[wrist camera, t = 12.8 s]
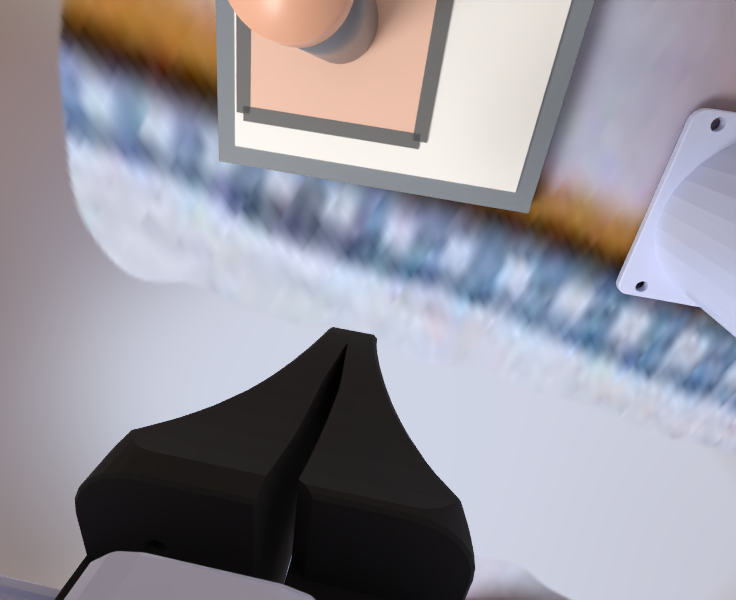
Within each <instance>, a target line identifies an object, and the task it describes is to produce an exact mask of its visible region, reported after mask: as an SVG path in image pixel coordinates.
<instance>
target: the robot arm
mask: <svg viewBox="0 0 736 600" xmlns="http://www.w3.org/2000/svg"><path fill="white" fill-rule="evenodd" d="M716 118H719V119H720V125H719V126H718V127H717V128H716V129H715V130H713V131H712V130H711V128H710V127H711V123H712V122H713V120H714V119H716ZM641 281H644V285H643V286H642V287H640V288H635V287H636V285H637V283H639V282H641ZM616 285H617V288H618V289H619V290H620V291H621V292H622V293H625V294H630V295H635V296H641V297H646V298H652V299H658V300H663V301H669V302H675V303H680V304H686V305H691V306H697V307H701V308H702V309H703V310H704V311H705V312H707V313H708V314H709V315H710V316H711V317H712V318H714V319H715V320H716V321H717V322H718V323H720V324H721V325H722V326H723V327H724V328H726V329H727V330H728V331H729V332H730V333H731V334H733V335H734V336H735V337H736V112H731V111H725V110H718V109H711V108H700V109H698V110H696V111H694V112H693V113H692V114H691V115H690V116H689V118H688V119H687V121H686V123H685V126H684V128H683V130H682V132H681V135H680V137H679V139H678V142H677V144H676V146H675V148H674V151H673V153H672V155H671V157H670V160H669V162H668V164H667V167H666V169H665V171H664V173H663V176H662V178H661V180H660V182H659V185H658V187H657V189H656V192H655V194H654V196H653V198H652V201H651V203H650V205H649V207H648V210H647V212H646V214H645V217H644V219H643V221H642V223H641V226H640V228H639V230H638V232H637V235H636V237H635V239H634V242H633V244H632V246H631V248H630V251H629V253H628V255H627V258H626V260H625V262H624V264H623V267H622V269H621V271H620V273H619V276H618V278H617V281H616ZM376 344H377V338H376V337H375V336H374V335H372V334H366V333H361V332H356V331H350V330H345V329H340V328H335V327H332V328H330V329H329V330H328V331H327V332H326V333H325V334H324V335H323V336H322V337H320V338H319V339H318V340H317V341H316V342H315V343H314V344H313V345H312V346H311V347H309V348H308V349H307V350H306V351H304V352H303V353H302V354H301V355H300V356H298V357H297V358H296V359H295V360H294V361H292V362H291V363H289V364H288V365H286V366H285V367H284V368H282V369H281V370H280V371H278V372H277V373H275V374H274V375H272V376H271V377H269V378H268V379H266V380H264V381H263V382H261V383H259V384H258V385H256V386H254V387H252V388H251V389H249V390H247V391H245V392H243V393H241V394H238V395H236V396H234V397H232V398H230V399H227V400H225V401H223V402H221V403H219V404H216V405H214V406H211V407H209V408H206V409H203V410H201V411H198V412H195V413H192V414H189V415H186V416H183V417H180V418H176V419H173V420H169V421H166V422H162V423H158V424H154V425H151V426H147V427H143V428H139V429H134V430H132V431H130V432H129V434H127V435H126V436H125V437H124V438H123V439H122V440H121V441H120V442H119V443H118V444H117V445H116V446H115V447H114V448H113V449H112V450H111V451H110V453H109V454H108V455H107V456H106V457H105V458H104V459H103V460H102V462H101V463H100V464H99V465H98V466H97V467H96V468H95V470H94V471H93V472H92V473H91V474H90V475H89V477H88V478H87V479H86V480H85V481H84V482H83V483H82V484H81V486H80V487H79V489H78V491H77V494H76V497H75V507H76V515H77V518H78V522H79V526H80V530H81V534H82V538H83V541H84V545H85V549H86V553H87V556H86V557H85V559H84V560H83V561H82V563H81V564H80V565H79V567H78V568H77V570H76V571H75V572H74V574H73V575H72V576H71V578H70V579H69V580H68V582H67V583H66V585H65V586H64V587H63V589H58V588H54V587H49V586H45V585H41V584H37V583H33V582H28V581H24V580H20V579H15V578H11V577H7V576H3V575H0V600H465V598H466V595H467V593H468V591H469V588H470V586H471V583H472V581H473V577H474V571H475V561H474V552H473V546H472V541H471V536H470V532H469V528H468V524H467V521H466V517H465V514H464V510H463V507H462V504H461V501H460V500H459V498H458V497H457V496H456V495H454V493H453V492H452V491H451V490H450V489H449V488H448V487H447V486H446V485H445V484H444V482H443V481H442V480H441V479H440V478H439V477H438V476H437V475H436V474H435V473H434V471H433V470H432V469H431V467H430V466H429V465H428V464H427V462H426V461H425V460H424V458H423V457H422V455H421V454H420V452H419V451H418V450H417V448H416V446H415V445H414V443H413V442H412V440H411V439H410V438H409V436H408V434H407V432H406V431H405V429H404V427H403V425H402V423H401V421H400V419H399V417H398V415H397V413H396V411H395V409H394V407H393V405H392V402H391V400H390V397H389V395H388V392H387V389H386V387H385V384H384V380H383V377H382V373H381V370H380V366H379V361H378V355H377V346H376ZM291 555H292V559H291ZM290 559H291V562H290ZM289 562H290V565H289ZM288 566H289V569H288ZM287 570H288V572H287ZM286 574H287V575H286ZM285 577H286V579H285ZM284 581H285V582H284Z"/></svg>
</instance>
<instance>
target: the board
mask: <svg viewBox="0 0 736 600" xmlns="http://www.w3.org/2000/svg"><path fill="white" fill-rule="evenodd" d="M375 1H376V4H377V9H378V27H377V32H376V35H375V38H374V40H373V42H372V44H371V46H370V47H369V49H368V50H367V51H366V52H365V53H364V54H363V55H362V56H361V57H359V58H358V59H356V60H354V61H352V62H349V63H345V64H334V63H330V62H327V61H325V60H322V59H320V58H318V57H316V56H314V55H312V54H309V53H307V52H305V51H303V50H301V49H299V48H294V47H288V46H283V45H281V44H278V43H276V42H274V41H271V40H269V39H267V38H264V37H262V36H260V35H259V34H257V33H255V32H254V31H253V30H251V29H250V28H249V27H248V26H247V25H246V24H245V23H244V22H243V21H242V20H241V19H240V18H239V17H238V15H237V14H236V13H235V11H234V10H233V8H232V6H231V5H230V3H229V1H228V0H216V41H217V88H218V135H219V161H222V162H228V163H234V164H240V165H246V166H252V167H257V168H263V169H269V170H275V171H281V172H287V173H293V174H299V175H305V176H311V177H317V178H322V179H328V180H334V181H340V182H346V183H352V184H358V185H364V186H370V187H376V188H382V189H387V190H393V191H399V192H405V193H411V194H417V195H423V196H429V197H435V198H441V199H447V200H452V201H458V202H464V203H470V204H476V205H482V206H488V207H494V208H500V209H506V210H512V211H517V212H523V213H529V209H530V206H531V203H532V200H533V197H534V193H535V190H536V187H537V184H538V181H539V177H540V174H541V171H542V168H543V165H544V161H545V158H546V155H547V152H548V149H549V145H550V142H551V139H552V136H553V133H554V129H555V126H556V123H557V120H558V117H559V113H560V110H561V107H562V104H563V101H564V97H565V94H566V91H567V88H568V85H569V81H570V78H571V75H572V72H573V69H574V65H575V62H576V59H577V56H578V53H579V49H580V46H581V43H582V40H583V37H584V33H585V30H586V27H587V24H588V21H589V17H590V14H591V11H592V8H593V5H594V1H595V0H375Z"/></svg>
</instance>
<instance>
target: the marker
mask: <svg viewBox="0 0 736 600" xmlns="http://www.w3.org/2000/svg"><path fill="white" fill-rule="evenodd" d="M228 1H229V3H230V5H231V6H232V8H233V10H234V11H235V13H236V14H237V15H238V17H239V18H240V19H241V20H242V21H243V22H244V23H245V24H246V25H247V26H248V27H249V28H250V29H251V30H253V31H254V32H255V33H257V34H259V35H260V36H262V37H264V38H267V39H269V40H271V41H274V42H276V43H278V44H281V45H283V46H288V47H294V48H299V49H301V50H303V51H305V52H307V53H309V54H312V55H314V56H316V57H318V58H320V59H322V60H325V61H327V62H330V63H334V64H345V63H349V62H352V61H354V60H356V59H358V58H359V57H361V56H362V55H363V54H364V53H365V52H366V51H367V50H368V49H369V47H370V46H371V44H372V42H373V40H374V38H375V35H376V32H377V27H378V9H377V4H376V1H375V0H228Z"/></svg>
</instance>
